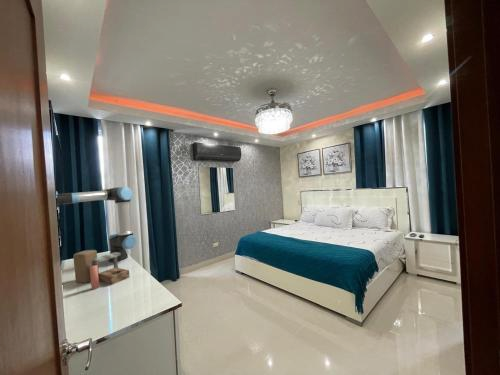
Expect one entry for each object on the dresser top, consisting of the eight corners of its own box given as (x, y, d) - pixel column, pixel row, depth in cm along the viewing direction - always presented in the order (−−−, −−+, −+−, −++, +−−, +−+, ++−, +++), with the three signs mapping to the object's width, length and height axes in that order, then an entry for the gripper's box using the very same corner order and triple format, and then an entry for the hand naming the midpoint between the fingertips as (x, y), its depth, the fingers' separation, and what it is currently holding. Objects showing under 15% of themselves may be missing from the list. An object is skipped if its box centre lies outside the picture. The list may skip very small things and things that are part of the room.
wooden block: (87, 283, 151) (84, 254, 150) (75, 282, 153) (72, 254, 152) (99, 276, 160) (97, 249, 160) (88, 276, 162) (85, 249, 162)
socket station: (116, 272, 167) (115, 252, 166) (132, 276, 157) (130, 254, 157) (93, 281, 153) (91, 259, 152) (108, 286, 143) (106, 262, 143)
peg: (97, 286, 145) (95, 265, 144) (100, 287, 143) (98, 265, 142) (90, 288, 141) (88, 267, 141) (93, 290, 139) (91, 268, 139)
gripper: (39, 214, 153) (42, 244, 154) (50, 215, 139) (53, 248, 140) (53, 212, 159) (55, 242, 160) (65, 213, 145) (68, 245, 146)
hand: (54, 245), depth 150 cm, fingers open, 13 cm apart
